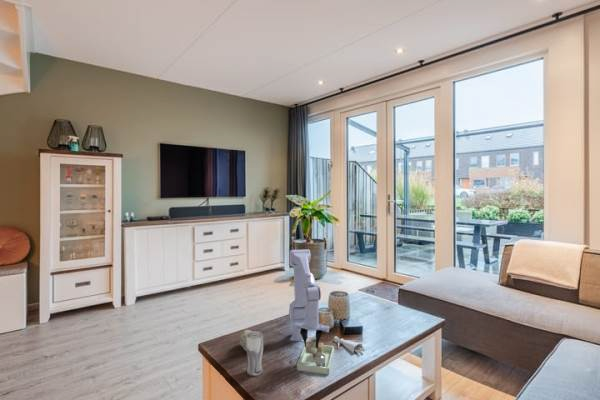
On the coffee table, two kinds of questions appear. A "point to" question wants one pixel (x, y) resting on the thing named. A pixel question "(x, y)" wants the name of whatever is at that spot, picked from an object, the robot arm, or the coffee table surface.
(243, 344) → the fossil replica
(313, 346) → the part birch
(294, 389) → the coffee table surface
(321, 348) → the part oak
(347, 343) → the woman figurine
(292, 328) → the robot arm
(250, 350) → the beer glass
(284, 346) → the coffee table surface
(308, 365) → the tray
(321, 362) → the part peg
